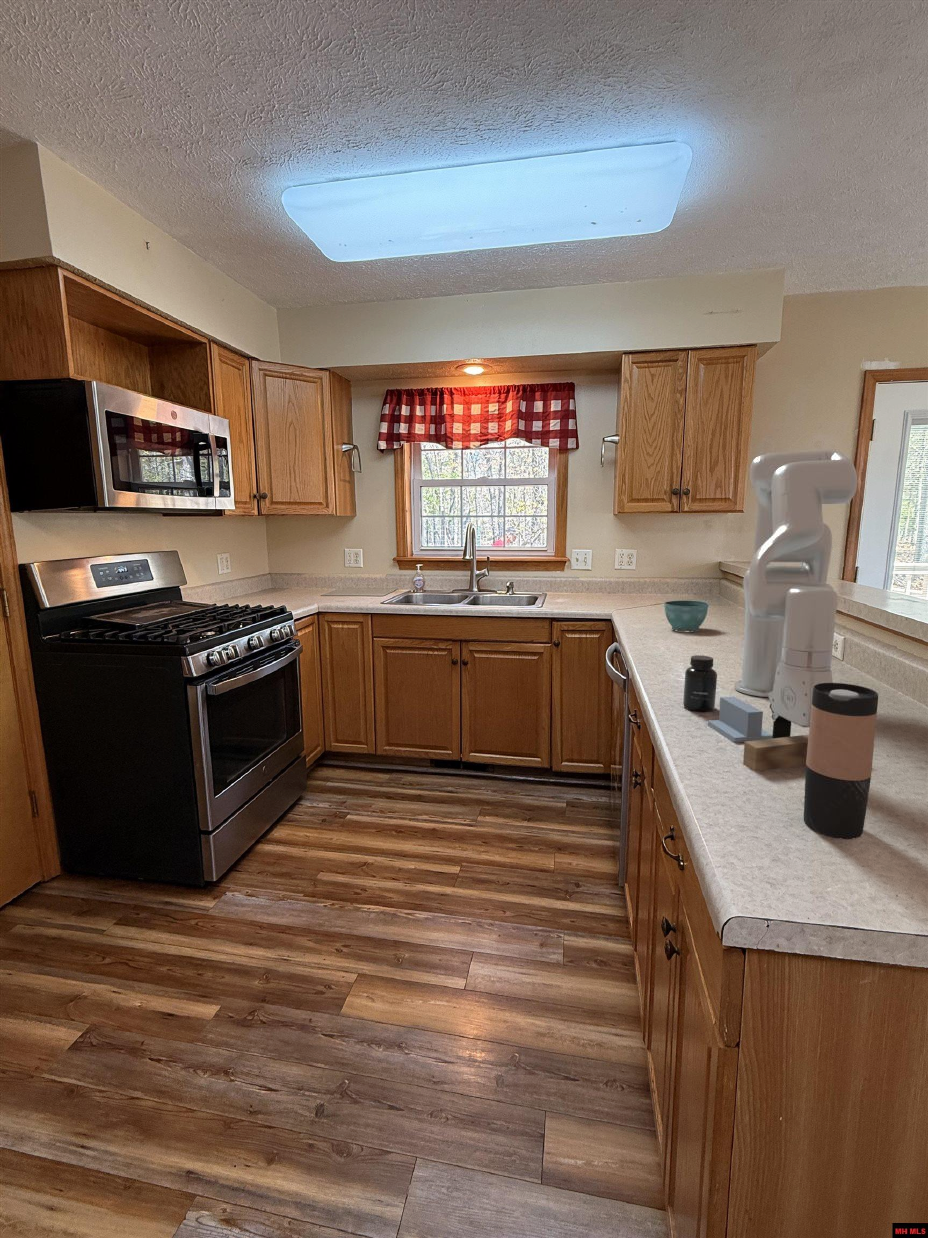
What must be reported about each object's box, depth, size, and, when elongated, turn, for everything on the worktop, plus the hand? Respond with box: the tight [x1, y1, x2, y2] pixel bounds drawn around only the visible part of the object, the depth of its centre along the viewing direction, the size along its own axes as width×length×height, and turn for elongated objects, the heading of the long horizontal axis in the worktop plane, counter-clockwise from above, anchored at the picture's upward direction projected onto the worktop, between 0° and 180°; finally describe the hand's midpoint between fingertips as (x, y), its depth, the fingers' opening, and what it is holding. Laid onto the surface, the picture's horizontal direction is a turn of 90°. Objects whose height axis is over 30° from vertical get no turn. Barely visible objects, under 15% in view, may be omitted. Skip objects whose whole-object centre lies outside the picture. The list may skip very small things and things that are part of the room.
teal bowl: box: [663, 599, 709, 633], centre depth 225 cm, size 16×16×11 cm
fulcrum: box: [707, 696, 773, 744], centre depth 118 cm, size 8×10×6 cm
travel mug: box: [803, 682, 879, 840], centre depth 80 cm, size 8×8×20 cm
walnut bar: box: [742, 734, 809, 772], centre depth 103 cm, size 20×3×4 cm, turn 102°
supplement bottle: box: [682, 654, 718, 713], centre depth 133 cm, size 7×7×12 cm
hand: (798, 751), depth 103 cm, fingers open, 9 cm apart
